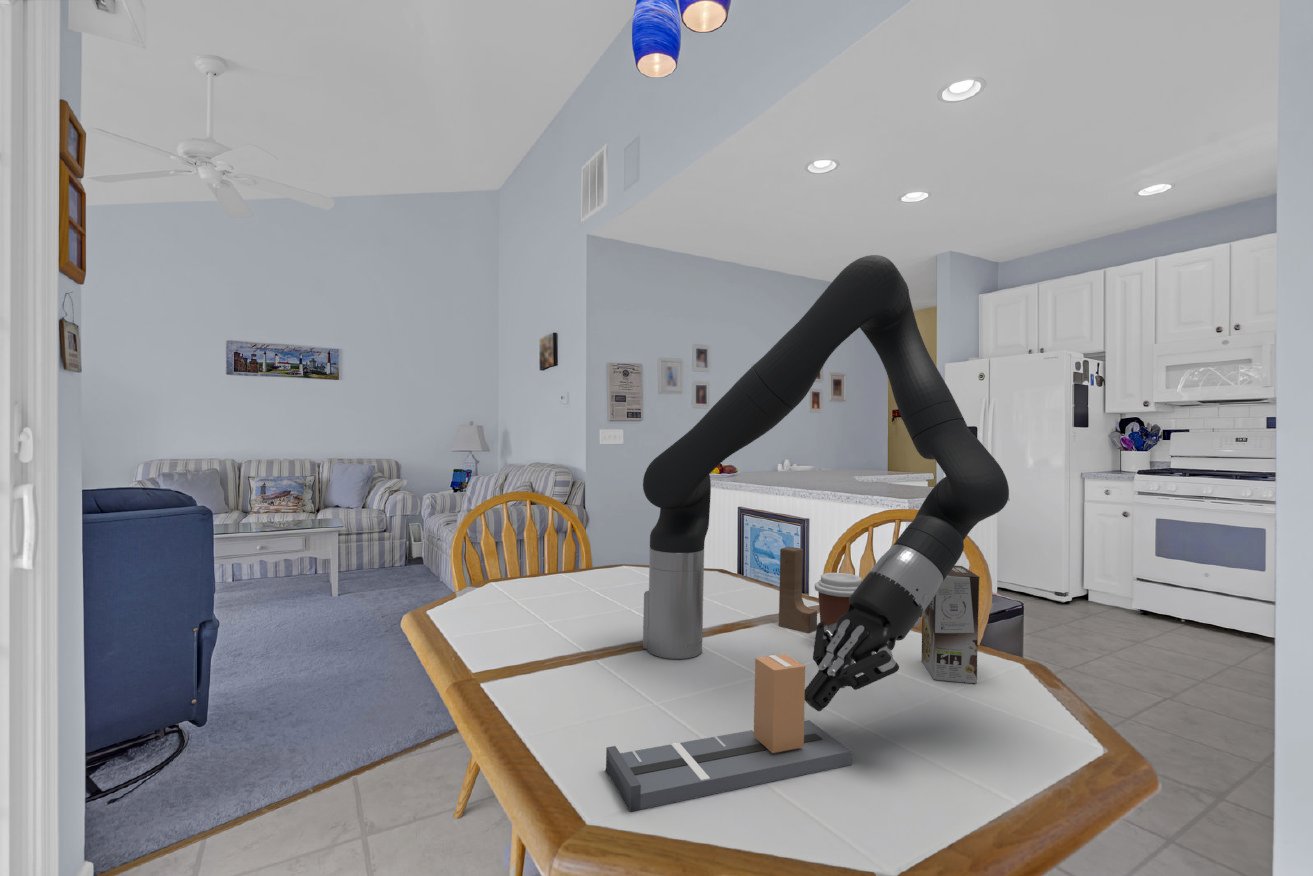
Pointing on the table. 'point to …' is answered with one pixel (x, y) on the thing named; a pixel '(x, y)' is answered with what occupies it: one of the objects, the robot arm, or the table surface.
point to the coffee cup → (835, 595)
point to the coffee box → (952, 628)
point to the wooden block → (793, 593)
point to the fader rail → (716, 766)
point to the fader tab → (779, 703)
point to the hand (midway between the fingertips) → (810, 704)
